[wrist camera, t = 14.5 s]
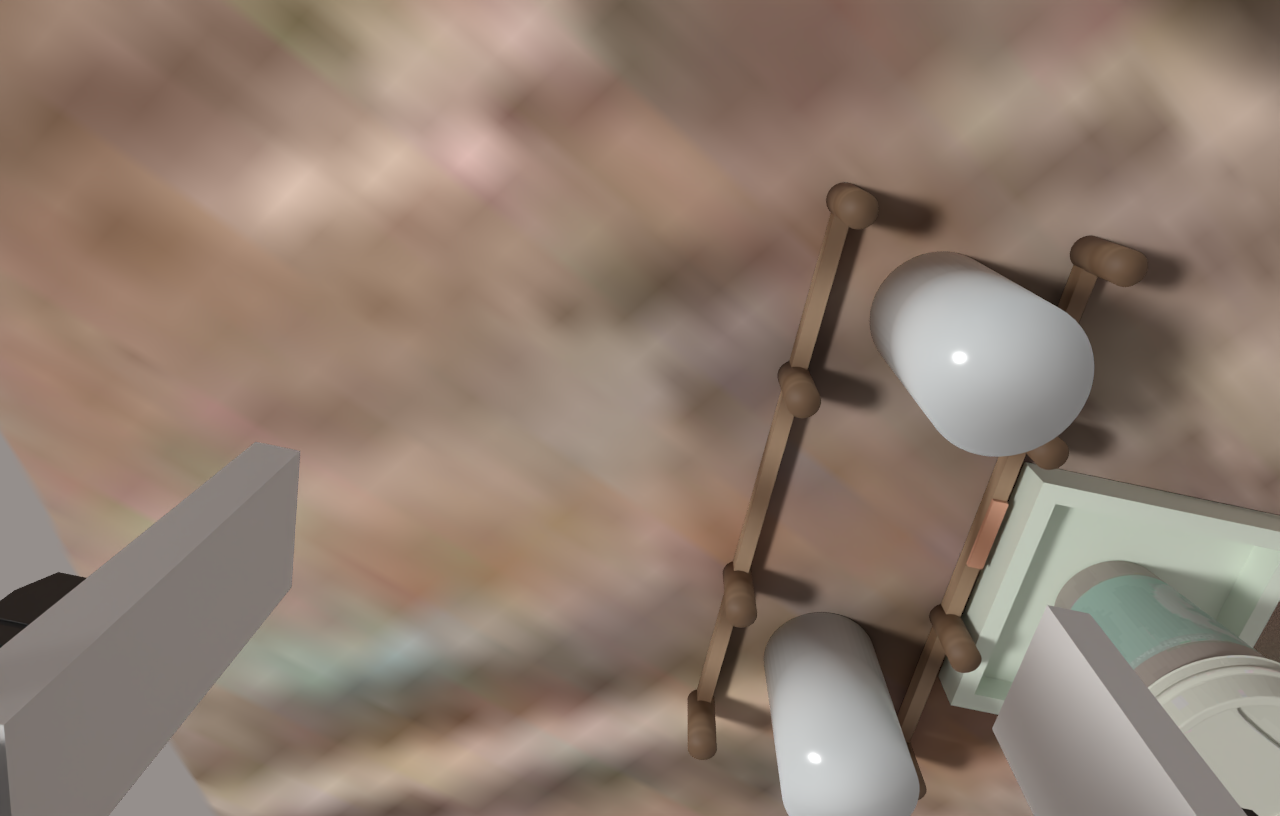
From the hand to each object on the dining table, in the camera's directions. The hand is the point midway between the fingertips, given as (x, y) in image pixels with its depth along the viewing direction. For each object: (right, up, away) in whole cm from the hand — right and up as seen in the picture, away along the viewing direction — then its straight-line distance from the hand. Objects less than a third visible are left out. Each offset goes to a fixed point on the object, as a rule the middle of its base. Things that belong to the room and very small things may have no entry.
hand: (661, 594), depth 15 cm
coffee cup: (+25, -8, +32) cm, 41 cm away
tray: (+25, -7, +32) cm, 41 cm away
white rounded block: (+14, +8, +27) cm, 32 cm away
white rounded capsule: (+10, -11, +34) cm, 38 cm away
